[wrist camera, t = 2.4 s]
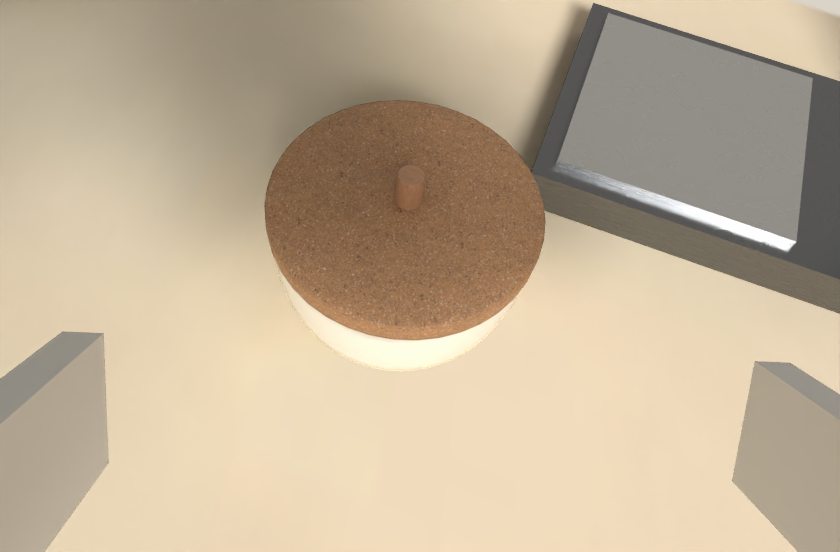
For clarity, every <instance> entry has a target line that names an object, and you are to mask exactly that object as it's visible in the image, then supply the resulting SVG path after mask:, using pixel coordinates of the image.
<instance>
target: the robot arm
mask: <svg viewBox="0 0 840 552" xmlns="http://www.w3.org/2000/svg"><path fill="white" fill-rule="evenodd" d="M108 463H109V462H108V437H107V411H106V385H105V359H104V333H83V332H61V333H60V334H59V335H57V336H56V337H55V338H53V339H52V340H51V341H49V342H48V343H47V344H46V345H44V346H43V347H42V348H40V349H39V350H38V351H36V352H35V353H34V354H32V355H31V356H30V357H28V358H27V359H26V360H25V361H23V362H22V363H21V364H19V365H18V366H17V367H15V368H14V369H13V370H11V371H10V372H9V373H7V374H6V375H5V376H3V377H2V378H1V379H0V552H45V550H46V549H47V548H48V546H49V545H50V543H51V542H52V541H53V539H54V538H55V537H56V535H57V534H58V532H59V531H60V530H61V528H62V527H63V525H64V524H65V523H66V521H67V520H68V518H69V517H70V516H71V514H72V513H73V511H74V510H75V509H76V507H77V506H78V505H79V503H80V502H81V500H82V499H83V498H84V496H85V495H86V493H87V492H88V491H89V489H90V488H91V486H92V485H93V484H94V482H95V481H96V479H97V478H98V477H99V475H100V474H101V473H102V471H103V470H104V468H105V467H106V466H107V464H108ZM732 481H733V483H734V484H735V485H736V486H737V487H738V488H739V489H740V490H741V491H742V492H743V493H744V494H745V495H746V496H747V498H748V499H749V500H750V501H751V502H752V503H753V504H754V505H755V506H756V507H757V508H758V509H759V510H760V511H761V513H762V514H763V515H764V516H765V517H766V518H767V519H768V520H769V521H770V522H771V523H772V524H773V525H774V526H775V528H776V529H777V530H778V531H779V532H780V533H781V534H782V535H783V536H784V537H785V538H786V539H787V540H788V541H789V543H790V544H791V545H792V546H793V547H794V548H795V549H796V550H797V551H798V552H840V394H838V393H836V392H835V391H833V390H832V389H830V388H829V387H827V386H825V385H824V384H822V383H821V382H819V381H818V380H816V379H814V378H813V377H811V376H810V375H808V374H807V373H805V372H804V371H802V370H800V369H799V368H797V367H796V366H794V365H793V364H791V363H781V362H757V361H755V363H754V368H753V374H752V379H751V384H750V389H749V395H748V400H747V405H746V410H745V416H744V421H743V426H742V431H741V437H740V442H739V447H738V452H737V458H736V463H735V468H734V473H733V479H732Z"/></svg>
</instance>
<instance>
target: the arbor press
mask: <svg viewBox="0 0 840 552" xmlns="http://www.w3.org/2000/svg"><path fill="white" fill-rule="evenodd" d="M531 173H532V175H533V177H534V179H535V181H536V183H537V185H538V187H539V191H540V194H541V197H542V201H543V204H544V210H545V211H548V212H551V213H554V214H557V215H560V216H563V217H565V218H568V219H571V220H574V221H577V222H580V223H583V224H585V225H588V226H591V227H594V228H597V229H600V230H603V231H605V232H608V233H611V234H614V235H617V236H620V237H623V238H626V239H628V240H631V241H634V242H637V243H640V244H643V245H646V246H648V247H651V248H654V249H657V250H660V251H663V252H666V253H668V254H671V255H674V256H677V257H680V258H683V259H686V260H688V261H691V262H694V263H697V264H700V265H703V266H706V267H708V268H711V269H714V270H717V271H720V272H723V273H726V274H728V275H731V276H734V277H737V278H740V279H743V280H746V281H748V282H751V283H754V284H757V285H760V286H763V287H766V288H768V289H771V290H774V291H777V292H780V293H783V294H786V295H788V296H791V297H794V298H797V299H800V300H803V301H806V302H808V303H811V304H814V305H817V306H820V307H823V308H826V309H828V310H831V311H834V312H837V313H840V81H837V80H834V79H830V78H827V77H824V76H821V75H818V74H815V73H812V72H808V71H805V70H802V69H799V68H796V67H793V66H790V65H786V64H783V63H780V62H777V61H774V60H771V59H768V58H764V57H761V56H758V55H755V54H752V53H749V52H746V51H743V50H739V49H736V48H733V47H730V46H727V45H724V44H721V43H717V42H714V41H711V40H708V39H705V38H702V37H699V36H695V35H692V34H689V33H686V32H683V31H680V30H677V29H673V28H670V27H667V26H664V25H661V24H658V23H655V22H651V21H648V20H645V19H642V18H639V17H636V16H633V15H629V14H626V13H623V12H620V11H617V10H614V9H611V8H608V7H604V6H601V5H598V4H595V3H593V6H592V8H591V11H590V14H589V17H588V19H587V22H586V25H585V27H584V30H583V33H582V36H581V38H580V41H579V44H578V47H577V49H576V52H575V55H574V58H573V60H572V63H571V66H570V68H569V71H568V74H567V77H566V79H565V82H564V85H563V88H562V90H561V93H560V96H559V99H558V101H557V104H556V107H555V109H554V112H553V115H552V118H551V120H550V123H549V126H548V129H547V131H546V134H545V137H544V140H543V142H542V145H541V148H540V150H539V153H538V156H537V159H536V161H535V164H534V167H533V170H532V172H531Z"/></svg>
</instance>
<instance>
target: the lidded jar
mask: <svg viewBox="0 0 840 552" xmlns="http://www.w3.org/2000/svg"><path fill="white" fill-rule="evenodd" d="M265 220H266V230H267V235H268V239H269V242H270V246H271V250H272V253H273V256H274V258H275V262H276V266H277V270H278V274H279V278H280V281H281V283H282V286H283V288H284V290H285V293H286V295H287V297H288V299H289V301H290V303H291V305H292V307H293V309H294V310H295V311H296V313H297V314H298V316H299V317H300V319H301V320H302V321H303V323H304V324H305V326H306V327H307V328H308V329H309V331H310V332H311V333H312V334H313V335H314V336H315V337H316V338H317V339H318V340H319V341H321V342H322V343H323V344H325V345H326V346H327V347H329V348H330V349H331V350H333V351H334V352H336V353H338V354H340V355H342V356H344V357H346V358H347V359H349V360H351V361H353V362H356V363H359V364H362V365H365V366H368V367H371V368H376V369H382V370H387V371H411V370H420V369H425V368H429V367H433V366H437V365H441V364H444V363H446V362H448V361H451V360H453V359H455V358H457V357H460V356H461V355H463V354H464V353H466V352H467V351H469V350H470V349H472V348H474V347H475V346H476V345H477V344H478V343H480V342H481V341H482V340H483V339H484V338H485V337H486V336H487V335H489V334H490V333H491V332H492V331H493V330H494V329H495V327H496V326H497V325H498V324H499V322H500V321H501V320H502V319H503V317H504V316H505V315H506V313H507V312H508V311H509V309H510V308H511V307H512V305H513V303H514V301H515V299H516V298H517V296H518V294H519V292H520V290H521V289H522V288H523V287H524V285H525V284H526V282H527V281H528V279H529V277H530V275H531V273H532V271H533V269H534V267H535V265H536V263H537V261H538V258H539V255H540V252H541V248H542V245H543V241H544V233H545V213H544V204H543V201H542V197H541V194H540V191H539V187H538V185H537V183H536V181H535V179H534V177H533V175H532V173H531V171H530V169H529V168H528V167H527V165H526V164H525V162H524V161H523V160H522V158H521V157H520V155H519V154H518V153H517V152H516V151H515V150H514V149H513V148H512V147H511V146H510V145H509V144H508V142H507V141H506V140H504V139H503V138H502V137H500V136H499V135H498V134H497V133H495V132H494V131H493V130H491V129H490V128H488V127H487V126H485V125H483V124H482V123H480V122H479V121H477V120H475V119H473V118H471V117H469V116H466V115H464V114H462V113H459V112H457V111H454V110H451V109H448V108H445V107H442V106H439V105H433V104H427V103H422V102H413V101H401V100H397V101H380V102H373V103H367V104H360V105H357V106H354V107H351V108H347V109H344V110H341V111H339V112H337V113H334V114H332V115H330V116H327V117H325V118H323V119H322V120H320V121H319V122H317V123H316V124H314V125H313V126H311V127H310V128H308V129H307V130H306V131H304V132H303V133H302V134H301V135H300V136H299V137H297V138H296V139H295V140H294V141H293V142H292V143H291V145H290V146H289V147H288V148H287V149H286V151H285V152H284V153H283V154H282V156H281V157H280V159H279V161H278V163H277V164H276V166H275V168H274V170H273V172H272V175H271V178H270V181H269V184H268V187H267V192H266V199H265Z"/></svg>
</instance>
